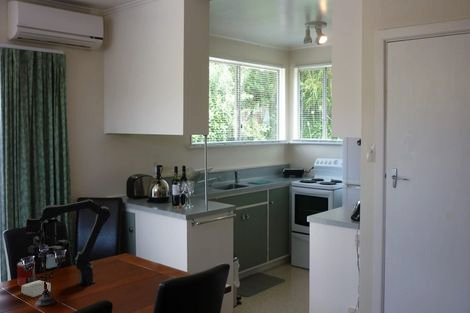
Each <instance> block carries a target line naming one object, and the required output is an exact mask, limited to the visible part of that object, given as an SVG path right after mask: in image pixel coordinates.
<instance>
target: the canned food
mask: <svg viewBox="0 0 470 313" xmlns="http://www.w3.org/2000/svg"><path fill="white" fill-rule="evenodd" d="M22 262H23V261H19V262H18V263H17V264H16V268H17V269H16V270H17V286H18V287H19V288H21V286H22V285H25V284H28V283H31V282H35V281H36V271H35V270H36V266H35V264H36V262H35V261H34V267H33V269H31V270H30V271H25V270H24V269H23V264H22Z"/></svg>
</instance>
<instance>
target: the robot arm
mask: <svg viewBox="0 0 470 313" xmlns="http://www.w3.org/2000/svg"><path fill="white" fill-rule="evenodd" d="M85 209H89V210H90V211H92V212H93V213H95V214H96V218H95V221H94V225H93V227H92V229H91V232H90V233H89V236H88V238H87V240H86V243H85V244H84V247H83V249H82V250H81V251H80V250H79V251H77V255H76V257H75V258H74V260H75V267H76V269H77V270H78V271H79V281H78V282H77V285H80V286H82V287H86V286H90V285H93V284H96V281H95V280H94V271H93V269H94V268H93V263H91V262H90V260H91V259H90V258H91V254H92V251H93V248H94V247H95V244H96V241H97V240H98V237H99V235H100V233H101V230H102V228H103V227H104V226H105V224H107V221H108V220H109V218H110V216H111V211H110V209H109V208H108V207H107V206H102V205H100V204H99V203H97V202H95V201H93V200H92V199H86V200H81V201H76V202H71V203H66V204H62V205H61V204H60V205H59V204H49V205H46V206H45V207H44V208H43V210H42V214H41V215H40V216H39V218H26V224H25V234H39V233H40V232H41V231H42V233H41V235H40V236H41V237H39V236H34V237H32V242H33V245H30V246H29V247H28V249H27V252H28V253H29V254H33V255H36V254H38V255H39V253H40V251H39V246H43V245H42V244H46V245H48V249H52V251H53V252H54V251H58V250H62V251H64V250H65V248H69V247H71V243H70V241H69V240H67V239H62V240H57V237H58V233H57V226H56V225H57V224H59V223H60V221H61V220H60V219H59V218H58V217H59V216H61V215H63V214H66V213H72V212H76V211H80V210H81V211H82V210H85ZM48 249H47V250H48ZM45 252H46V255H45V257H40V256H39V257H40V259H41V260H40V261H41V264H42V263H43V265H44V262H45V265H46V256H47V255H48V252H47V251H45Z"/></svg>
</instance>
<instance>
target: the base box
mask: <svg viewBox="0 0 470 313" xmlns="http://www.w3.org/2000/svg"><path fill="white" fill-rule="evenodd" d="M44 282H46V281H43V280H40V279H39V280H35V282H31V283H28V284H25V285H22V286H21V287H20V289H21V294H22V293H23V295H26V296H29V297H32V298H33V297H34V298H35V297H37V296H40V295H43V294H42V293H43V291H44ZM46 284H47V289H48V291H49V292H51V288H52V287H51V286H52V285H51V282H48V281H47V282H46ZM49 292H48V293H49Z"/></svg>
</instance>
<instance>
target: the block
mask: <svg viewBox="0 0 470 313" xmlns="http://www.w3.org/2000/svg"><path fill="white" fill-rule="evenodd" d="M43 266H44V265H43V263H42V262H41V267H43ZM54 267H55V268H57V267H58V262H57V263H55V255H54V254H47V256H46V269H52V268H54ZM43 268H44V267H43Z"/></svg>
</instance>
